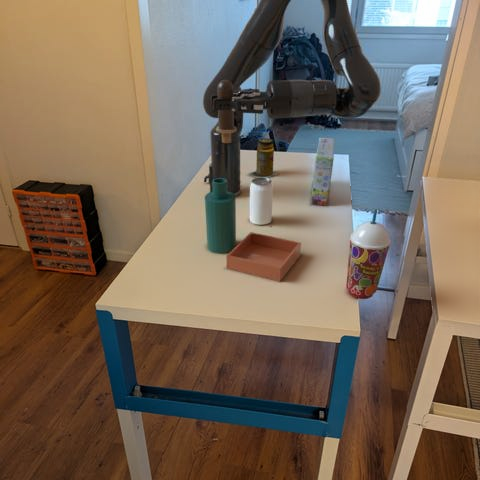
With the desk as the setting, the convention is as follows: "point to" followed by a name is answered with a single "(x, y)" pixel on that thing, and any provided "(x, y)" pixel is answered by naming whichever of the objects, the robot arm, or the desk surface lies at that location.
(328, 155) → the snack box
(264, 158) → the condiment
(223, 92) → the stopper
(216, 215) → the flask
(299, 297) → the desk surface
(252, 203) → the can
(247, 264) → the dish
